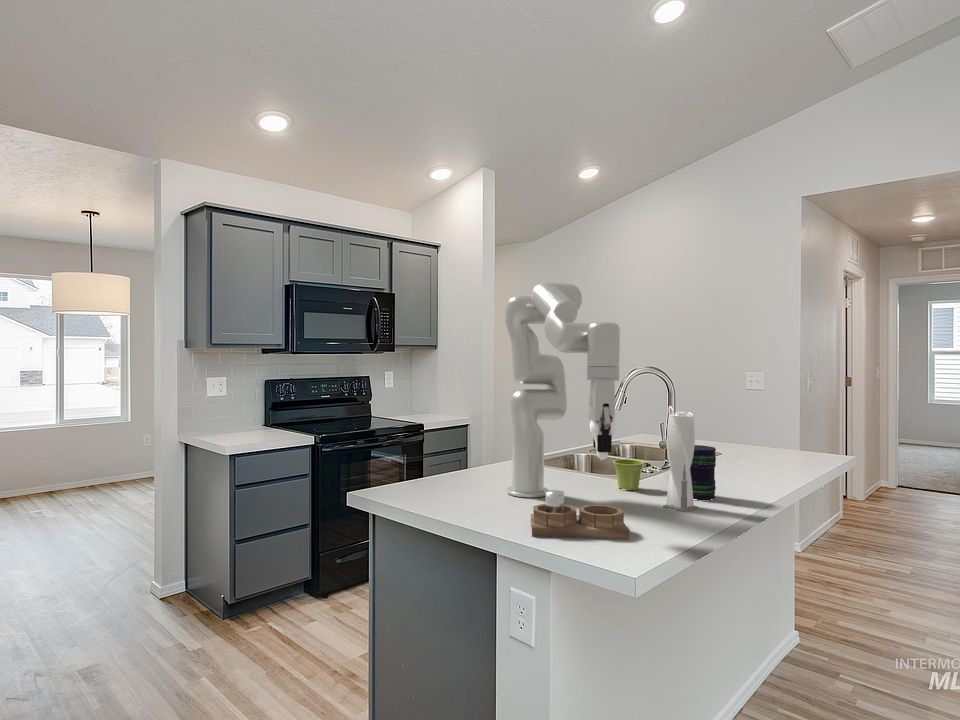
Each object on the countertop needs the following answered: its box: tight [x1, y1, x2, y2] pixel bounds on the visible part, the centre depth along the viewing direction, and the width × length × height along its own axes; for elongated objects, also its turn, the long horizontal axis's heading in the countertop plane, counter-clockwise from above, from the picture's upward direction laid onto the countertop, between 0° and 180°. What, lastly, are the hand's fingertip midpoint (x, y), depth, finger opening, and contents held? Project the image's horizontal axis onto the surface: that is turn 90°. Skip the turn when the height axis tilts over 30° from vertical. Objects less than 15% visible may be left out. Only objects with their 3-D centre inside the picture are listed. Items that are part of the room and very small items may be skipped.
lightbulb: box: [589, 418, 617, 461], centre depth 141 cm, size 6×6×11 cm
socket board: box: [530, 503, 630, 540], centre depth 141 cm, size 12×22×5 cm, turn 87°
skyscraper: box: [662, 405, 700, 513], centre depth 165 cm, size 8×8×28 cm
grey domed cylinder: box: [544, 489, 565, 513], centre depth 141 cm, size 4×4×7 cm
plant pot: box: [612, 458, 645, 491], centre depth 187 cm, size 9×9×9 cm
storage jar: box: [690, 444, 717, 501], centre depth 177 cm, size 10×10×15 cm
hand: (602, 449), depth 141 cm, fingers closed on lightbulb, 5 cm apart
